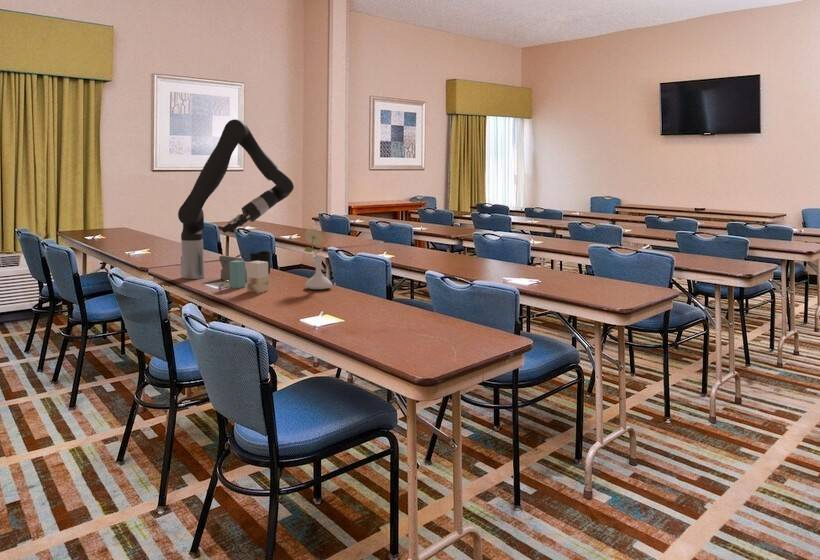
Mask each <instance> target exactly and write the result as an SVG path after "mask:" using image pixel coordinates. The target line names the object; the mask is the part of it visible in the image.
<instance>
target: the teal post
mask: <svg viewBox="0 0 820 560" xmlns="http://www.w3.org/2000/svg"><path fill="white" fill-rule="evenodd" d="M245 266H246V261H245V260H243V261H240V260H235V261H229V267H230V282H229V288H230V287H232V288H231V289H237V288H239V289H242V288H241V287H244V288H246V287H247V281H246V272H245ZM245 286H246V287H245Z"/></svg>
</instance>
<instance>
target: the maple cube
mask: <svg viewBox="0 0 820 560" xmlns="http://www.w3.org/2000/svg"><path fill="white" fill-rule="evenodd" d="M269 281H270V280H269V276H268V277H264V278H259V279H257V278H250V277H247V281H246V289H247V290H246V291H250V292H249V293H252V292H256V293H255V294H262V293H265V291H267V292H269V291H270V290H269V289H270V287H269V283H270V282H269ZM261 292H262V293H261Z"/></svg>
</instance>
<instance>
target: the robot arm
mask: <svg viewBox="0 0 820 560" xmlns="http://www.w3.org/2000/svg"><path fill="white" fill-rule="evenodd" d="M238 145H239V146H241V147H242V149H243V150H244V151H246V152H247V154H248V155H249V157H250V159H251V160H252V162H253V164H254V165H255V167H256V168H257V169H258V170H259V172H260V173H261V174H262V175H263V176H264V178H265V179H266V180H267V181H272V183H274V186H273V187H271V188H270V189H269V190H266V191H264V192H263V193H261V194H260V195H259V196H257V197H255V198H253V199H251V200H250V201H249V202H248V203H246V204H245V205H244V206H242V207H241V212H242V213H239V214H238V215H236V216H235V217H234V218H232V219H231V220H229V221H228V222H227V224H226V225H225V226H223V227H222V228H221V231H222V232H223V234H225V233H227V232H230V233H232V232H233V231H234V230H236V229H237V228H239V227H241V226H242V227H243V225H245V224H246V223H247V222H248V221H250V222H251V223H253V222H255V221H257V220H258V219H259V218H260V217H262V216H263V215H264V214H265V213H267V212H268V211H269V210H270V209H271V208H273V207H274V206H275V205H276V204H278V203H279V202H281V201H283V200H285V199H286V198H287V197H289V196H290V194H291V193H293V190H294V186H295V185H294V183H293V180H292V179H291V178H290V177H289V176H288V175H287V174H286V173H284V172H283V171H282V170H281V169H279V167H278V166H277V165H276V163H275V162H274V161H273V160H272V159H271V157H270V156H269V155H268V154H267V153H266V152H265V150H264V149H263V148H262V147H261V145H260V144H259V143H258V142H257V140H256V138H255V137H254V135H253V133H252V132H251V130H250V129H249V126H248V124H247V123H245V122H244V121H243V120H239V119H231V120H228V122H227V123H226V124H225V126H224V127H223V130H222V133H221V136H220V138H219V140H218V141H217V144H216V146H215V148H214V149H213V151H212V152H211V154H210V155H209V157H208V159H207V160H206V162H205V164H204V166H203V167H202V169H201V171H200V173H199V175H198V177H197V179H196V181H195V183H194V186H193V187H192V189H191V191H190V193H189V195H188V196H187V197H186V199H185V200H184V201H183V203H182V205H181V206H179V209H178V212H177V216H178V220H179V221H180V223H182V231H181V234H180V239H181V240H180V241H181V256H180V272H181V278H182V279H186V280H196V279H197V280H199V279H203V278H205V277H206V276H205V257H204V256H205V255H204V231H205V215H204V210H203V207H204V205H205V203H206V202H207V200H208V199H209V198H210V196H212V194H213V193H214V192H215V191H216V190H217V188H218V187H219V185H220V184H221V182H222V180H223V179H224V177H225V176H226V173H227V171H228V168H229V165H230V161H231V159H232V158H231V157H232V155H233V153H234V151H235V149H236V148H237V146H238Z"/></svg>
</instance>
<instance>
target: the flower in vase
mask: <svg viewBox="0 0 820 560" xmlns="http://www.w3.org/2000/svg"><path fill="white" fill-rule="evenodd" d="M303 237H304V238H305V240H306V241H307V243H309V244H311V247H310V246H307V247H305V249H304V250H303V251H305V252H308V253H312V252H314V254H315V255H312V258H313V259H314V264H315V272H314V274H313V276H311V277H310V278H309V279H308V280H307V281H306V282H305V283H304V287H306V288H307V289H309V290H326V289H329V288H332V286H333V282H332V281H331V280H330V279H328V278H327V277H326V276H325V275H324V274H323V272H322V264H323V263H322V262H323V259H324V258H325V255H323V254H322V255H321V254H320V255H319V254H317V253H320V252H322V251H323V250H324V249H325V247H323V248H320V249H318V250H317V251H316V250H315V249H314V245H319V244H322V243H323V241H324V235H323V234H322V232H321V231H320V230H318V229H316V228H308V229H306V231H304V234H303Z"/></svg>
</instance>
